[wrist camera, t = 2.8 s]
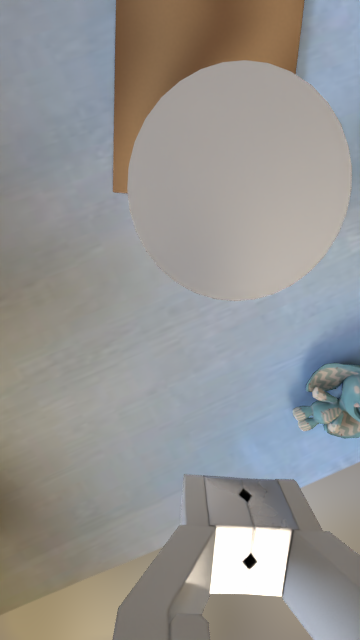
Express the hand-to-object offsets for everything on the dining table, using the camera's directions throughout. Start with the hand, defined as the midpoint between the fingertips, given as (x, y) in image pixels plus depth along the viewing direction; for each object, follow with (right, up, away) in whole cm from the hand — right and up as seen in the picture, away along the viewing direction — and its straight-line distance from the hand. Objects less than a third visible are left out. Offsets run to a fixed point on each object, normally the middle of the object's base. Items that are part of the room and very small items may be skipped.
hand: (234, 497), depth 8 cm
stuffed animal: (+18, -4, +30) cm, 36 cm away
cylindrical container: (0, +14, +26) cm, 30 cm away
